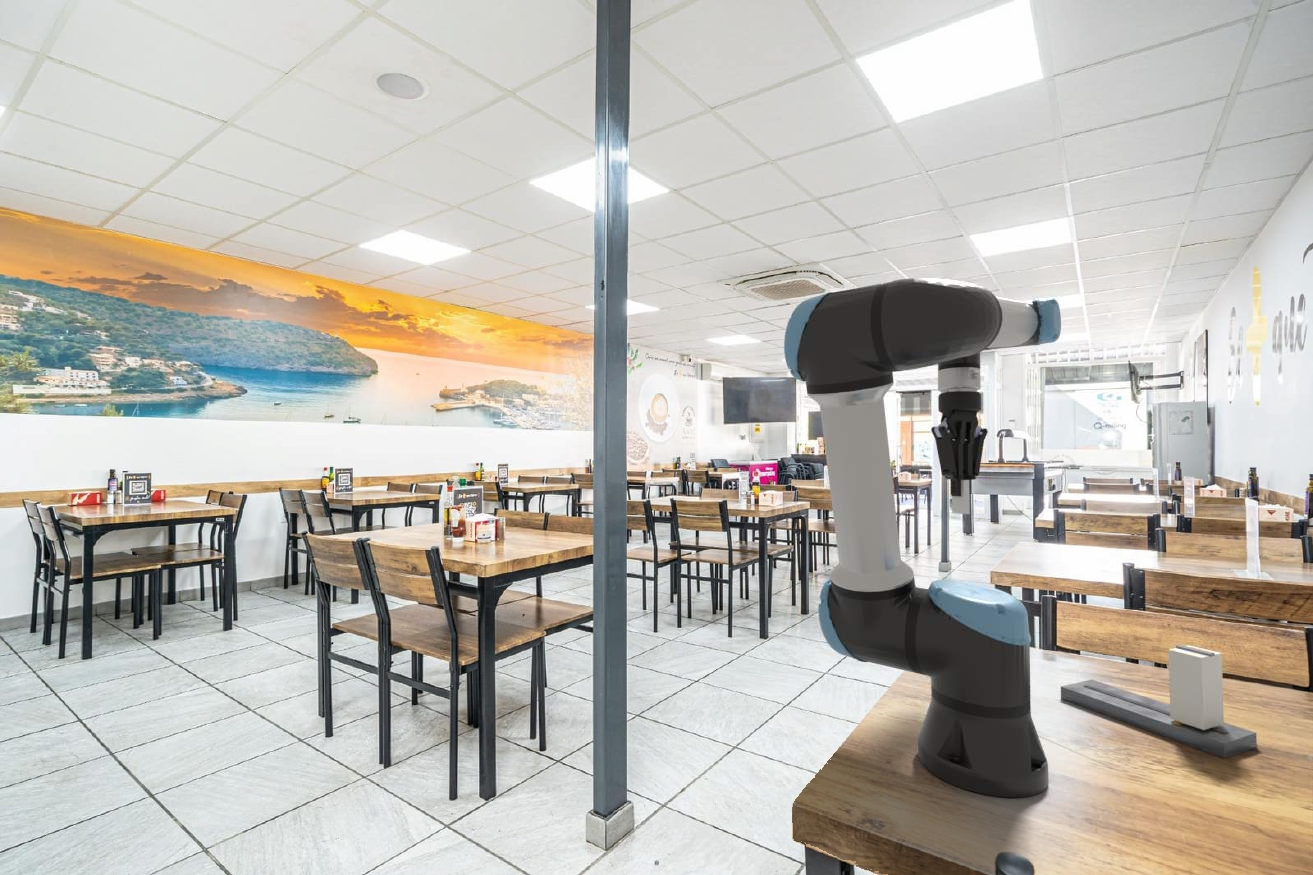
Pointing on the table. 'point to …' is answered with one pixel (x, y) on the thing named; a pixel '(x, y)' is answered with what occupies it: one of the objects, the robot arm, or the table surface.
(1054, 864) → the table surface
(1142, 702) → the grey slotted track base
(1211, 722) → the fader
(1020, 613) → the robot arm
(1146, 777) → the table surface
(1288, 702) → the table surface
